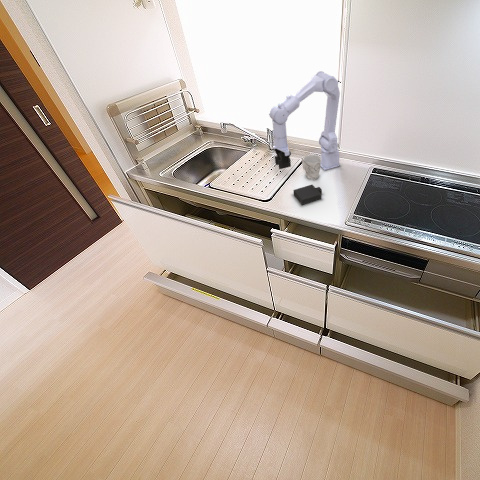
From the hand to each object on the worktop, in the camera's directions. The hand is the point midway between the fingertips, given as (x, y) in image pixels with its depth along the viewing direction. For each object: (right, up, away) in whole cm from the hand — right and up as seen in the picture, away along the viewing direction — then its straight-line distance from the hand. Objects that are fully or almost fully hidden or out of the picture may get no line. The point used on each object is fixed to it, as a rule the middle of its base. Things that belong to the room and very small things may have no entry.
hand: (283, 163), depth 127 cm
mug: (+13, -4, +8) cm, 16 cm away
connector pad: (0, -1, +1) cm, 1 cm away
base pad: (+12, -18, -5) cm, 22 cm away
